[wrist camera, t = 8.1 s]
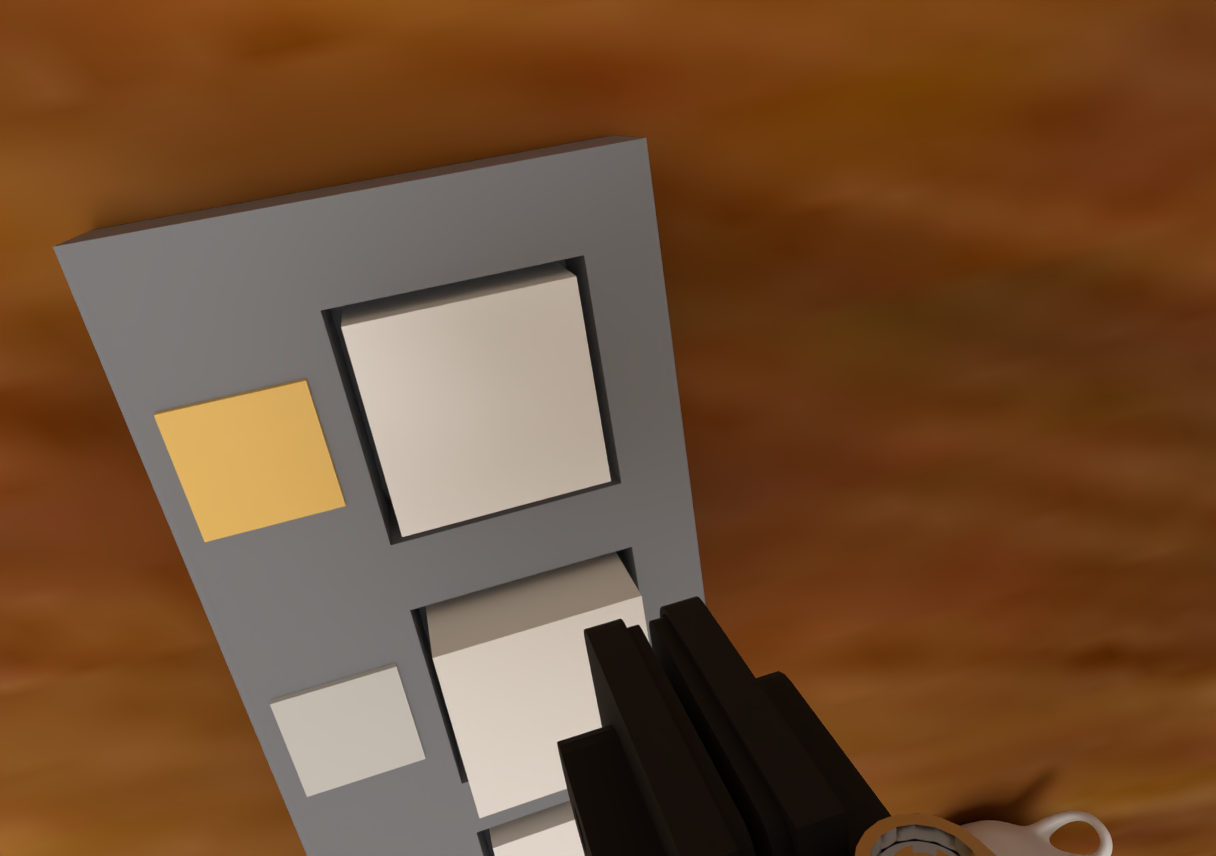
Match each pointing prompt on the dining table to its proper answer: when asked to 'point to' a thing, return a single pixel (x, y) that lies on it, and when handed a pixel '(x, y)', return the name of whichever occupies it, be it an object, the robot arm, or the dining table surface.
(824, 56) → the dining table surface
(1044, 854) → the teacup
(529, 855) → the end button
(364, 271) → the button panel
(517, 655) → the middle button
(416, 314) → the end button
